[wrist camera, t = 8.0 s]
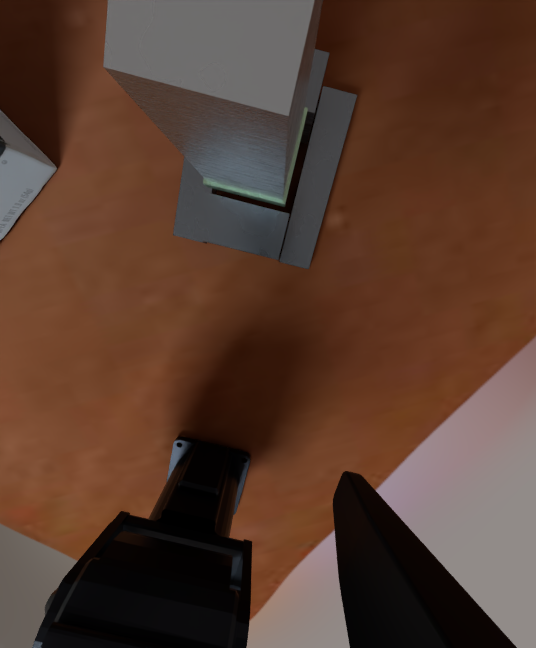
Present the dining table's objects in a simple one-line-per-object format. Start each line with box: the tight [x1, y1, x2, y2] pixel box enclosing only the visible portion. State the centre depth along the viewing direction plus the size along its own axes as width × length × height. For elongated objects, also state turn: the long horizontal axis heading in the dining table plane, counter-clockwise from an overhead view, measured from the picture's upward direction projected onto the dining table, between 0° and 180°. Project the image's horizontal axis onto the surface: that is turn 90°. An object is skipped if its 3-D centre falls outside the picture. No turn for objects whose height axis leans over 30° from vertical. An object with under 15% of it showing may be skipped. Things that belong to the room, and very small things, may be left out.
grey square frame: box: [173, 49, 357, 269], centre depth 15 cm, size 10×9×4 cm
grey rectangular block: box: [103, 0, 323, 207], centre depth 9 cm, size 4×4×9 cm
